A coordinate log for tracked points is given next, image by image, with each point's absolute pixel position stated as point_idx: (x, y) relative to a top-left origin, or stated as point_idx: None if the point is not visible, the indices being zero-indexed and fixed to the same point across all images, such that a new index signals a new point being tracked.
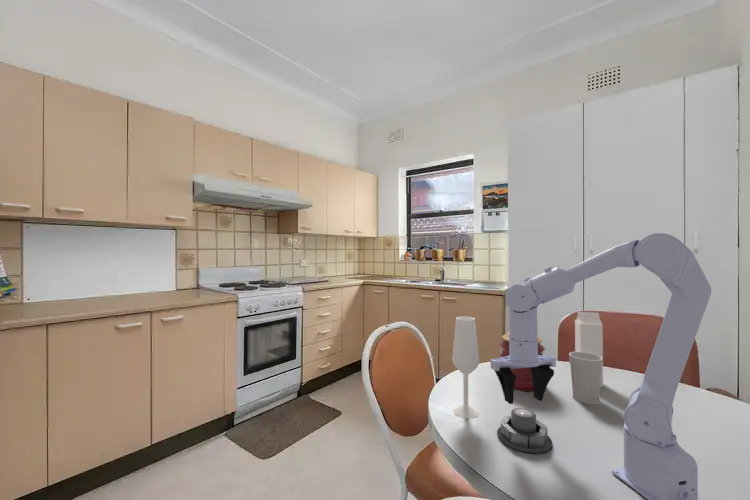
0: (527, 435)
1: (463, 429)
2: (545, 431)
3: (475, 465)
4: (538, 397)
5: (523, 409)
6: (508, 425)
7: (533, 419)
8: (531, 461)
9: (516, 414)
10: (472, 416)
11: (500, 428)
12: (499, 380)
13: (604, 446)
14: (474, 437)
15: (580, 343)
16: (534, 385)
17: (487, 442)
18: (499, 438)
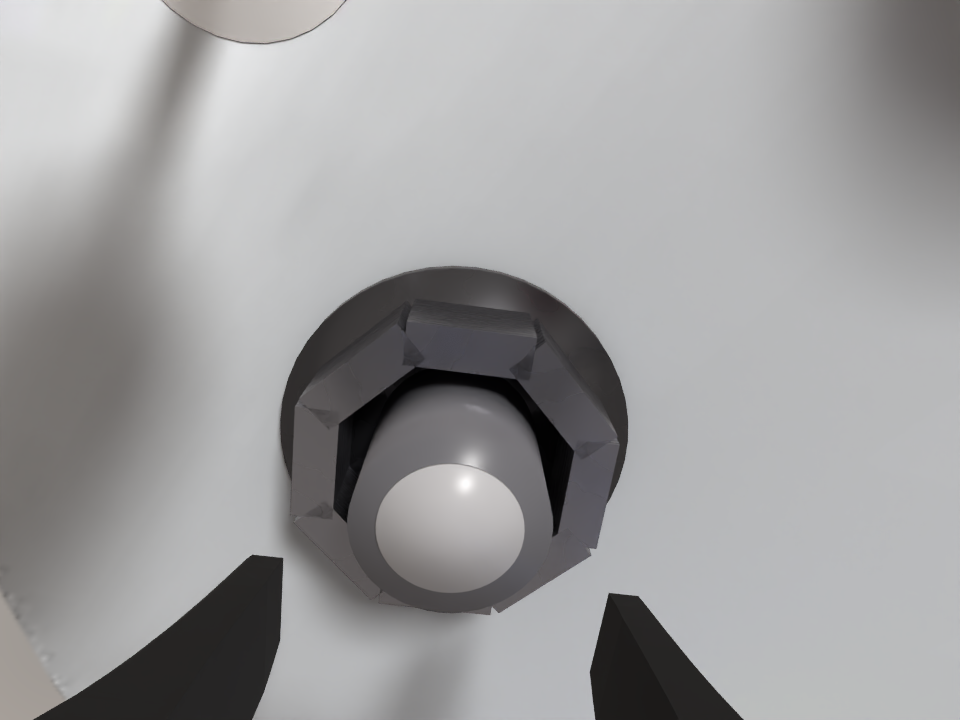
0: (379, 588)
1: (89, 195)
2: (537, 585)
3: (15, 554)
4: (599, 683)
5: (509, 469)
6: (332, 452)
7: (468, 607)
8: (341, 606)
9: (376, 526)
10: (251, 29)
11: (362, 306)
12: (67, 706)
13: (846, 617)
14: (129, 318)
15: None
16: (651, 707)
17: (192, 395)
18: (283, 403)
